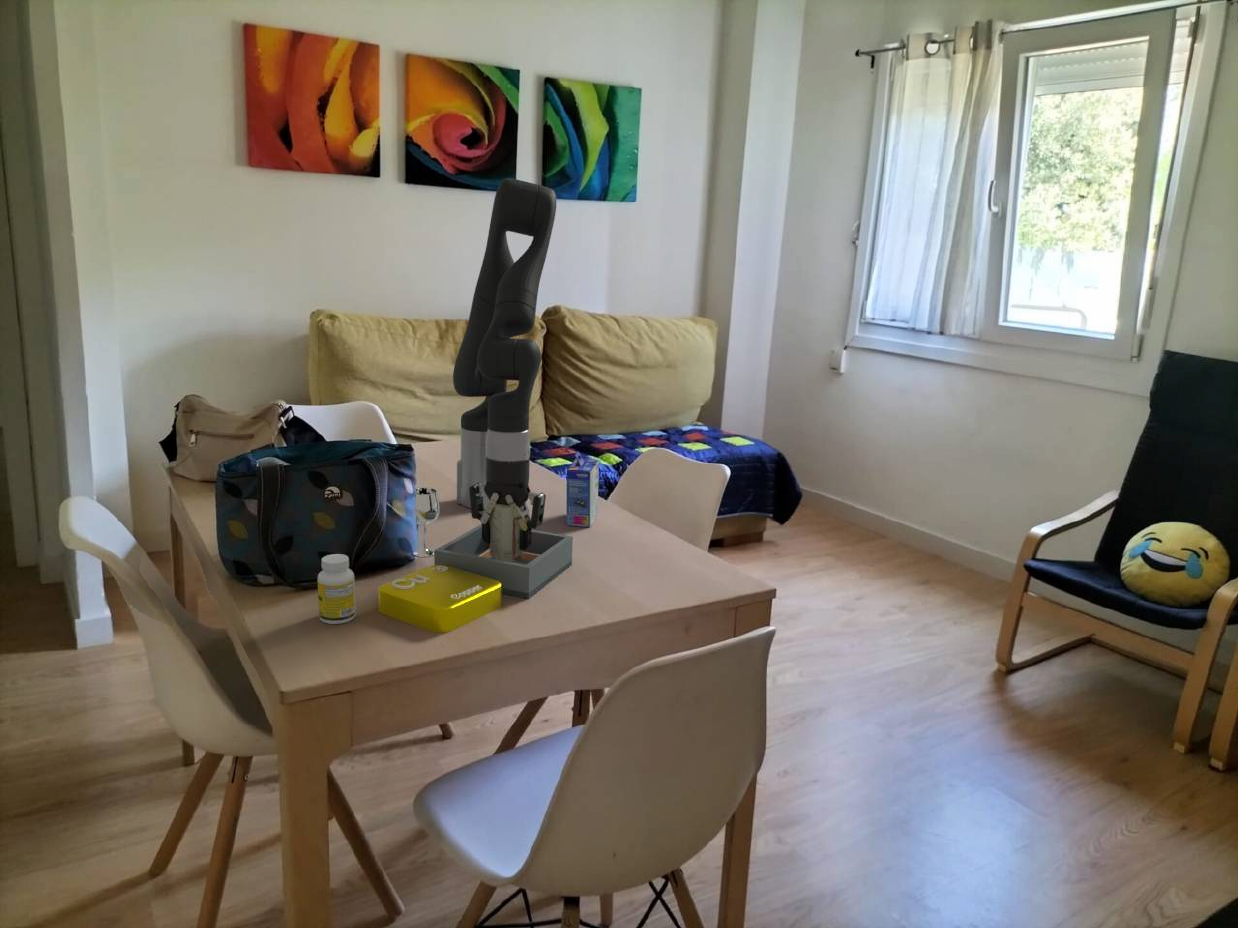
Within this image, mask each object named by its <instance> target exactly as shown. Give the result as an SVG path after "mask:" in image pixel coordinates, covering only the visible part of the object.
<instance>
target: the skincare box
mask: <svg viewBox="0 0 1238 928" xmlns="http://www.w3.org/2000/svg"><path fill="white" fill-rule="evenodd" d="M519 510H520V511H521V512H523V506H521V507H520V508H519ZM520 530H521V526H520V524H519V522H518V520H517V519H515V517H514V514H513V512H512V510H511V507H510V506H509V505H502V504H495V507H494V509H493V512H492V515H491V516H490V555H491V556H492V557H493V558H495V559H496V560H502V561H507V562H509V561H516V560H522V558H523V550H520Z"/></svg>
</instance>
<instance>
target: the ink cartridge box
mask: <svg viewBox="0 0 1238 928" xmlns="http://www.w3.org/2000/svg"><path fill="white" fill-rule="evenodd" d="M574 457H575V459H574V461H573V462H572V463H571V464H570V465H569V467H568V468H567V469H566V526H572V527H573V526H574V527H581V528H582V527H583V528H589V527H592V525H593V523H594V521H595V519H596V518H597V516H598V513H599V460H598V459H585V458H583V457H582V455H581V453H580V452H579V451H576V453H575V454H574Z"/></svg>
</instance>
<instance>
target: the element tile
mask: <svg viewBox="0 0 1238 928" xmlns="http://www.w3.org/2000/svg"><path fill="white" fill-rule="evenodd" d="M502 595H503V594H502V584H501V582H499V581H497V580H494V579H491V578H488V577H484V576H481V575H478V574H474V573H471V572H468V571H464V570H461V569H458V568H455V567H451V566H448V565H444V564H435V565H434V564H432V565H429V566H426V567H424V568H421V569H419V570H417V571H414V572H411V573H409V574H405V575H404V576H401V577H399V578H396V579H393V580H390V581H387V582H385V583H383V584H381V585H380V586H378V588H377V599H378V600H377V601H378V602H377V603H378V609H377V610H378V612H379V613H380V614H383V615H386V616H388V617H391V618H393V619H397V620H399V621H401V622H404V623H407V624H410V625H413V626H416V627H419V628H421V629H424V630H426V631H430V632H433V633H440V634H442V633H443V634H445V633H450V632H453V631H455V630H457V629H459V628H460V627H463V626H466V625H467V624H469V623H471V622H474V621H475V620H478V619H480V618H481V617H484V616H487V615H488V614H491V613H492V612H495V611H496V610H498V609H500V608H501V606H502V601H503V600H502Z"/></svg>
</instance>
